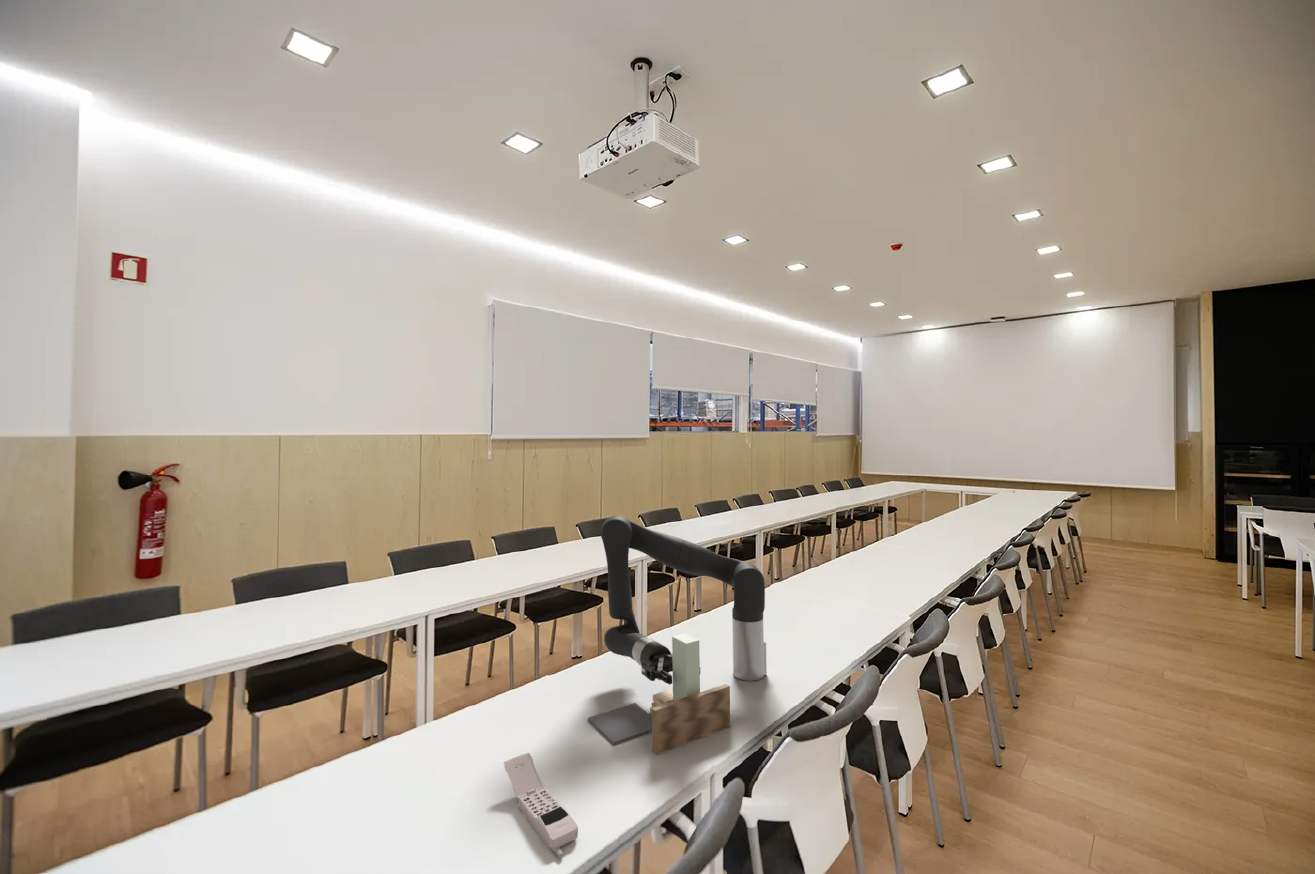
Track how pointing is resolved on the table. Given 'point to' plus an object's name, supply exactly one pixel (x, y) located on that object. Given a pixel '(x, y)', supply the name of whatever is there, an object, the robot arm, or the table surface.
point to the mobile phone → (540, 804)
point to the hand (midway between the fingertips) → (685, 675)
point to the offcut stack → (661, 699)
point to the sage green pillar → (685, 666)
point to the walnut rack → (690, 718)
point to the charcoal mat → (623, 723)
